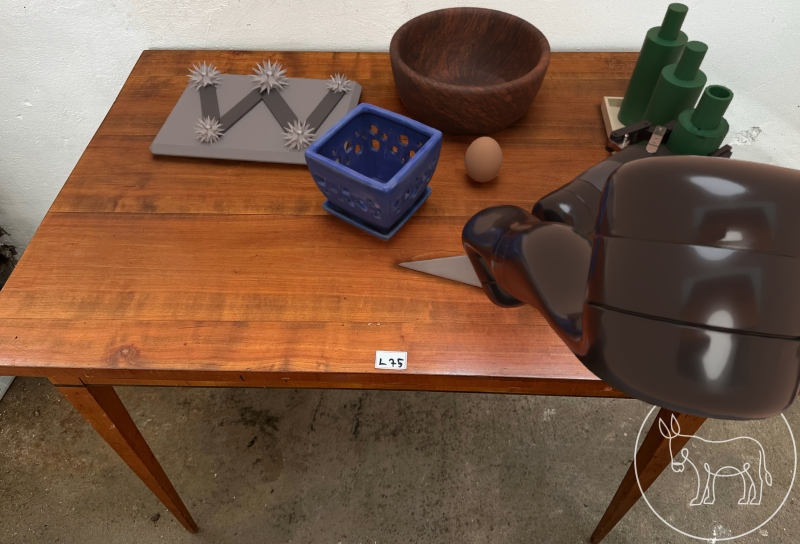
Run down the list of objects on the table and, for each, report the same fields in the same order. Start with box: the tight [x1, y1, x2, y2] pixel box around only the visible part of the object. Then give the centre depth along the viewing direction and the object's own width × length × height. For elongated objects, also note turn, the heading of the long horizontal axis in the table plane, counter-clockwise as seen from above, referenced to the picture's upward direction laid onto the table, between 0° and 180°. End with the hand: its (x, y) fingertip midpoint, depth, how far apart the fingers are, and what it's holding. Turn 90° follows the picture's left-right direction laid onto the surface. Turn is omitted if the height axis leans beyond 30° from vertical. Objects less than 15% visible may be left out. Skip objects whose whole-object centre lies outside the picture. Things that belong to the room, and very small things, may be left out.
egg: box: [463, 136, 504, 183], centre depth 77 cm, size 5×5×7 cm
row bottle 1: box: [617, 2, 689, 126], centre depth 80 cm, size 6×6×18 cm
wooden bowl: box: [388, 6, 552, 137], centre depth 88 cm, size 25×25×10 cm
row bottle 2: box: [634, 40, 709, 147], centre depth 74 cm, size 6×6×18 cm
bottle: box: [665, 84, 735, 156], centre depth 68 cm, size 6×6×18 cm
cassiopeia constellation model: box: [148, 59, 363, 166], centre depth 86 cm, size 30×22×7 cm
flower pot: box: [305, 102, 444, 242], centre depth 71 cm, size 13×13×12 cm
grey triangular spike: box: [398, 254, 483, 289], centre depth 68 cm, size 6×5×13 cm
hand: (703, 138), depth 68 cm, fingers closed on bottle, 5 cm apart
